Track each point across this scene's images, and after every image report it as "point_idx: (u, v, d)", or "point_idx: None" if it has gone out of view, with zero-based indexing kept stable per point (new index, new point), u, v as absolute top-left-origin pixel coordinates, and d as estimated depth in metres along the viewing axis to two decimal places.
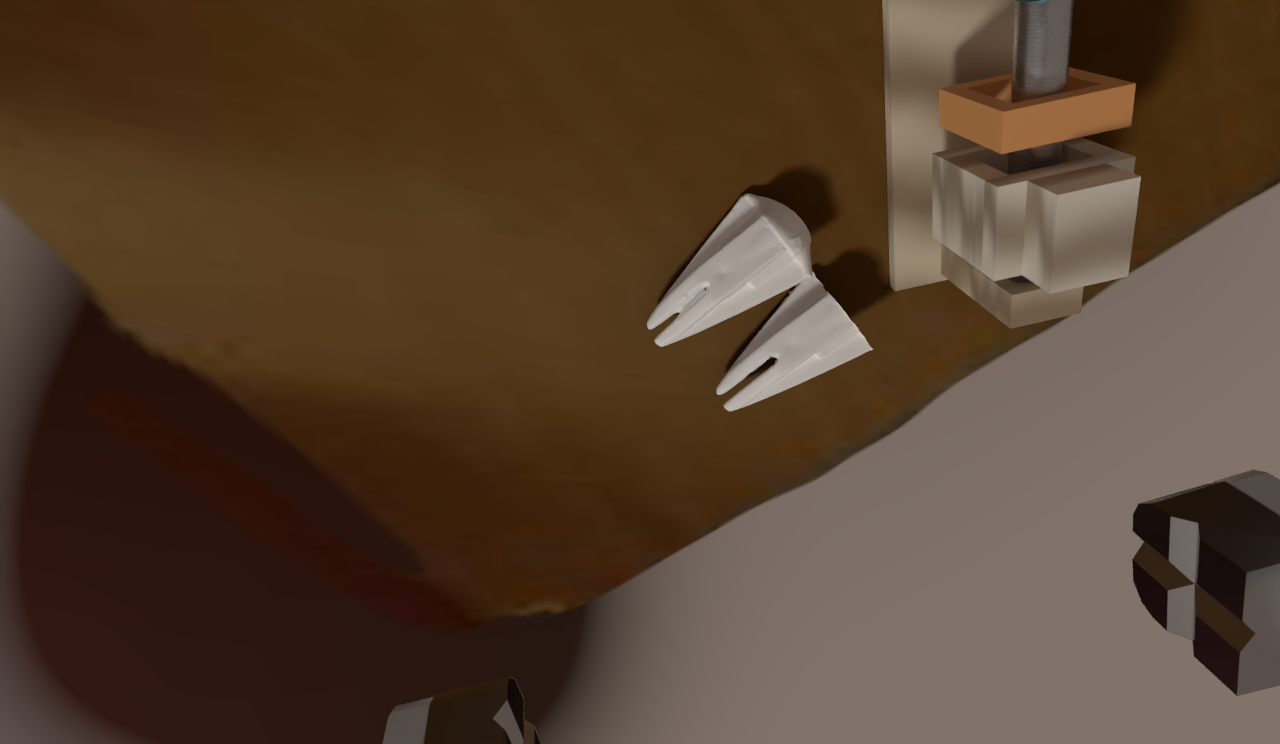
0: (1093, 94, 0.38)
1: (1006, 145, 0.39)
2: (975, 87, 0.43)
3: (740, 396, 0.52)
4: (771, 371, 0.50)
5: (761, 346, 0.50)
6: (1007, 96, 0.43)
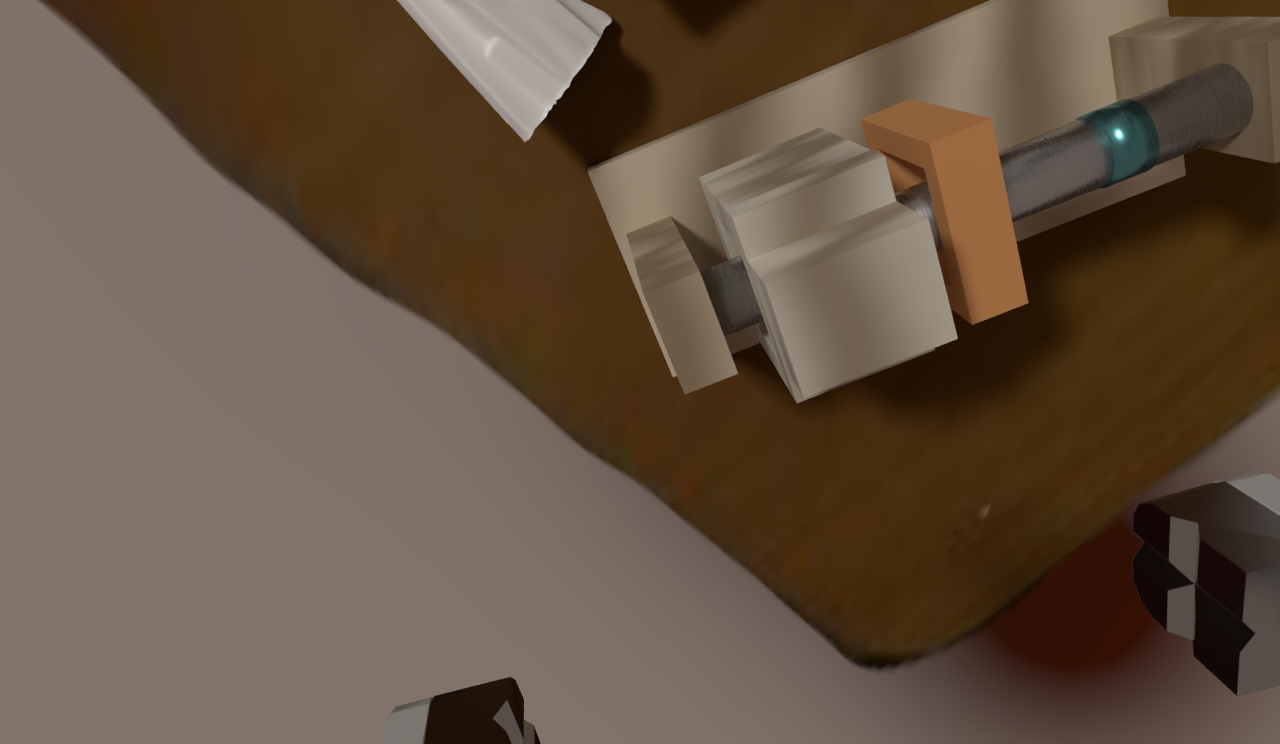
0: (1015, 248, 0.27)
1: (942, 146, 0.25)
2: None
3: None
4: None
5: None
6: None
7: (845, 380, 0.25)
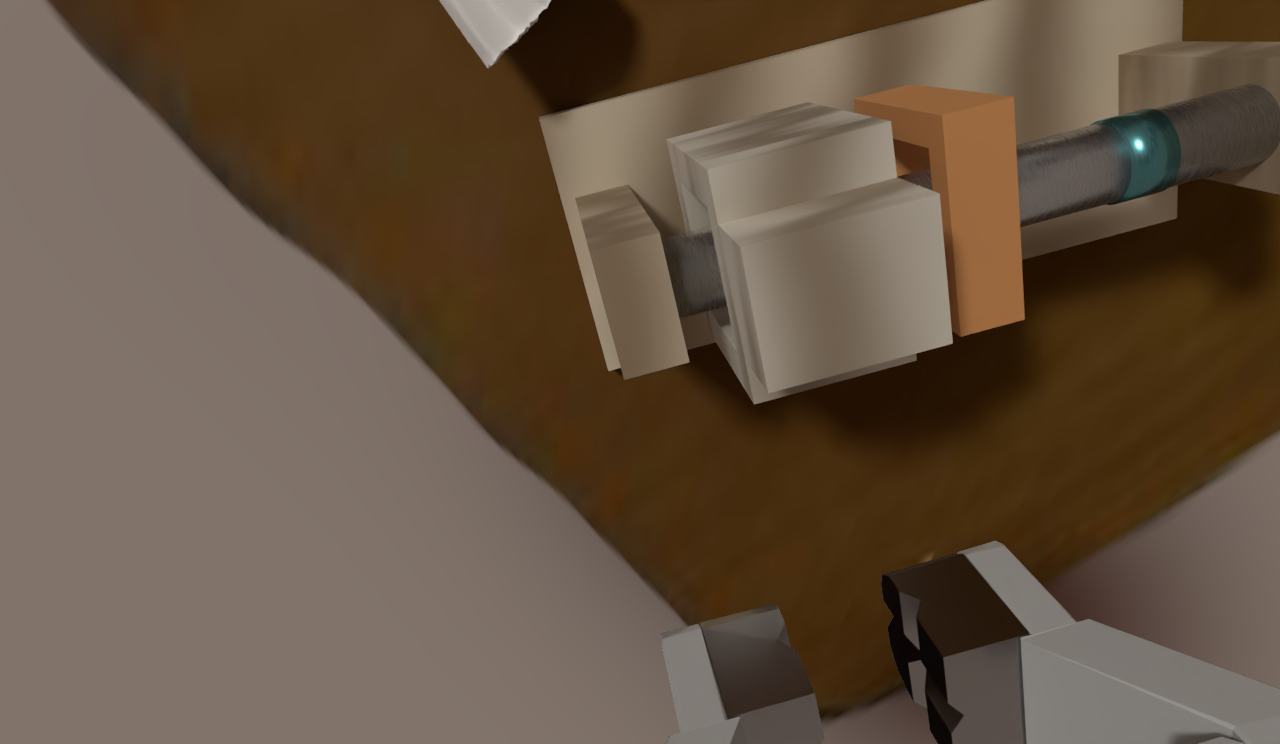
0: (1018, 253, 0.24)
1: (956, 120, 0.22)
2: None
3: None
4: None
5: None
6: None
7: (819, 377, 0.21)
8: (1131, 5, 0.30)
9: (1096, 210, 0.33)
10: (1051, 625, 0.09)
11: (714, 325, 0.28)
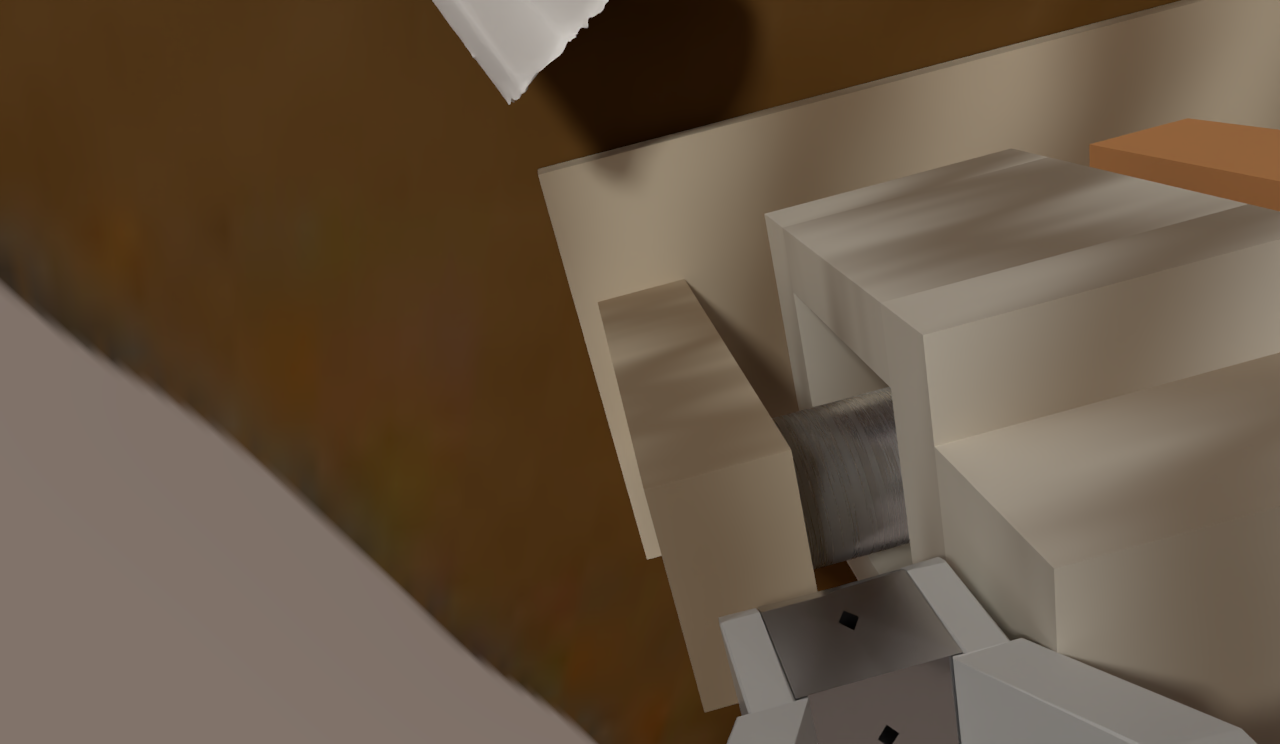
0: None
1: None
2: None
3: None
4: None
5: None
6: None
7: None
8: None
9: None
10: (984, 644, 0.08)
11: None
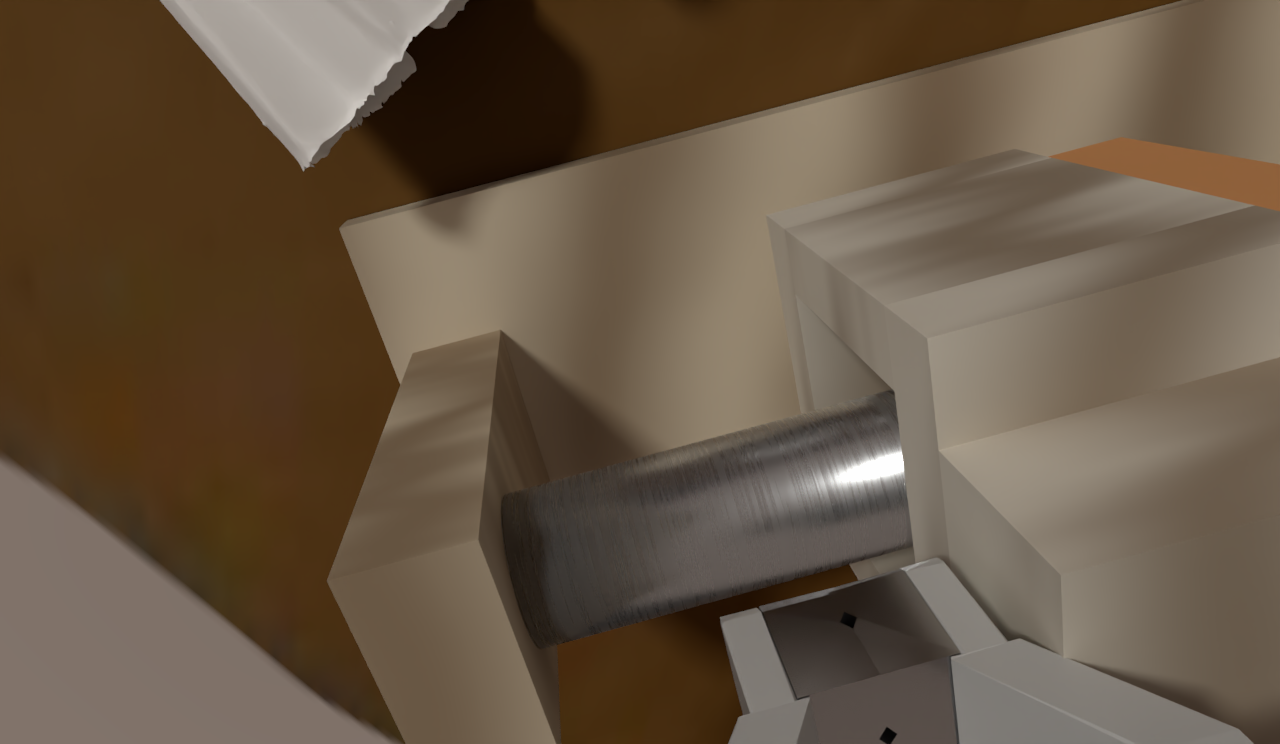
0: None
1: None
2: None
3: None
4: None
5: None
6: None
7: None
8: None
9: None
10: (982, 644, 0.08)
11: None
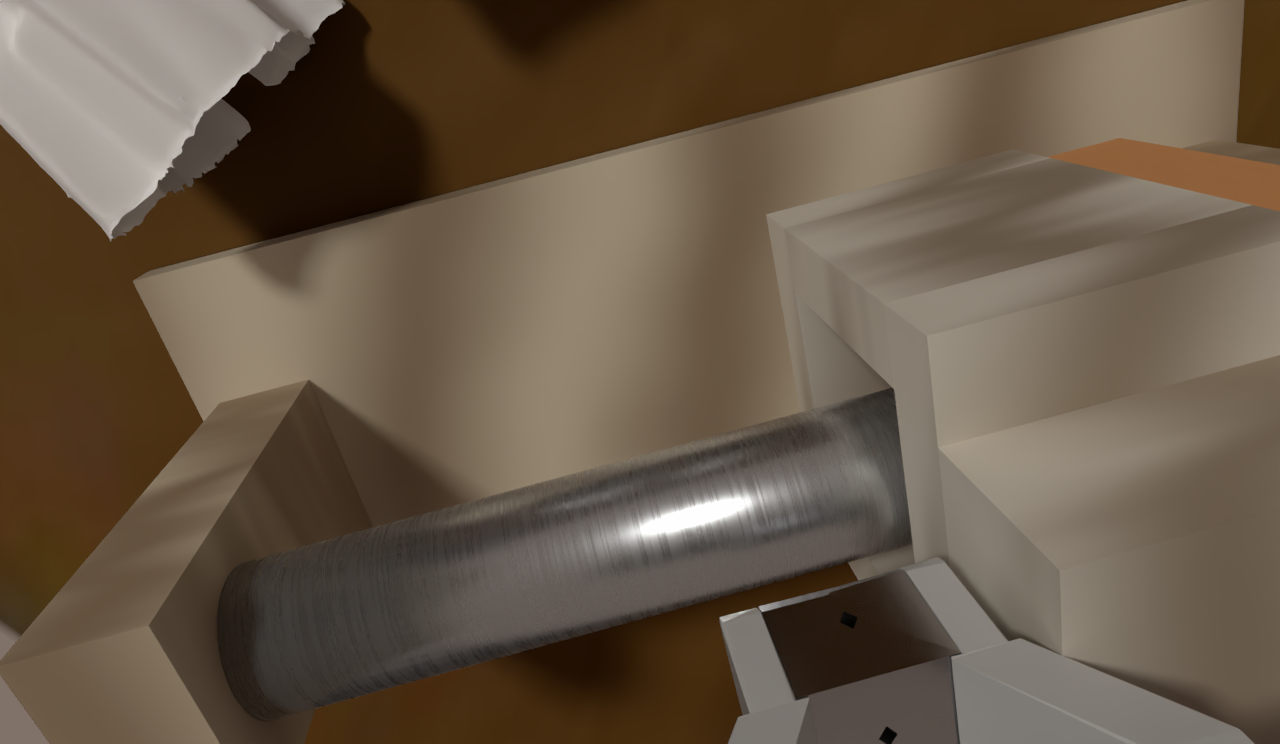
0: None
1: None
2: None
3: None
4: None
5: None
6: None
7: None
8: (1153, 82, 0.18)
9: None
10: (983, 645, 0.08)
11: None
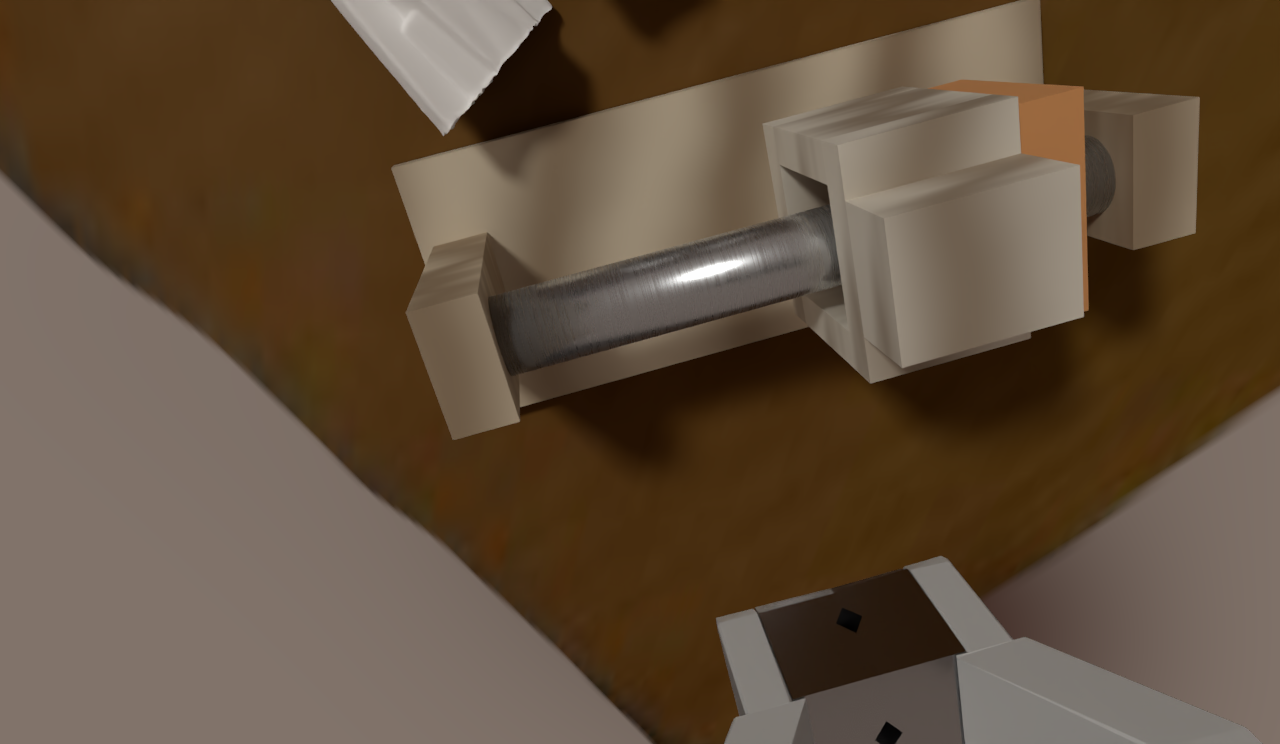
0: (1084, 244, 0.24)
1: (1026, 111, 0.22)
2: None
3: None
4: None
5: None
6: None
7: (952, 351, 0.21)
8: (990, 51, 0.30)
9: None
10: (988, 643, 0.08)
11: (811, 309, 0.28)
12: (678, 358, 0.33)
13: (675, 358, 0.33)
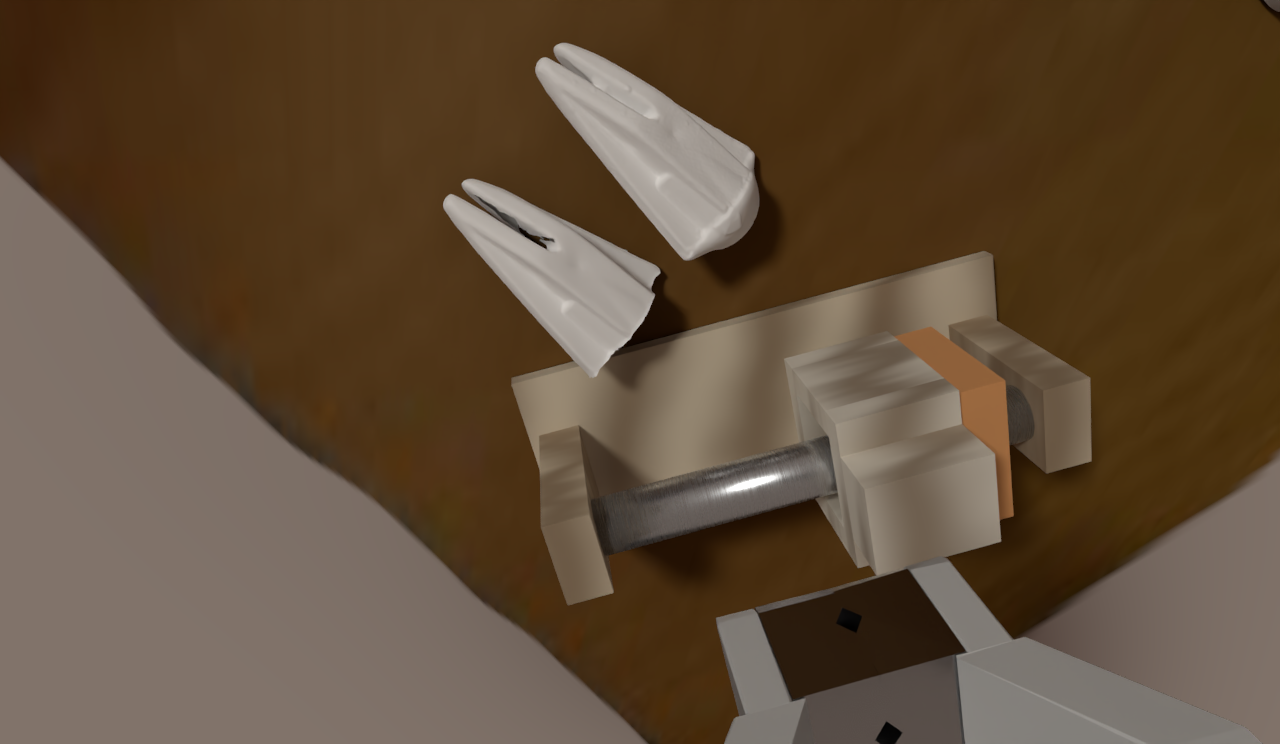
0: (1009, 475, 0.34)
1: (966, 396, 0.32)
2: None
3: (478, 213, 0.34)
4: (534, 246, 0.34)
5: (561, 224, 0.35)
6: None
7: None
8: (955, 292, 0.40)
9: None
10: (988, 643, 0.08)
11: None
12: None
13: None
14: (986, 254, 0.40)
